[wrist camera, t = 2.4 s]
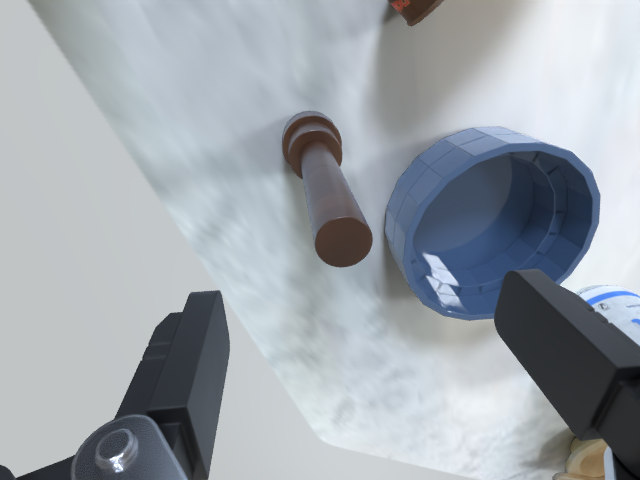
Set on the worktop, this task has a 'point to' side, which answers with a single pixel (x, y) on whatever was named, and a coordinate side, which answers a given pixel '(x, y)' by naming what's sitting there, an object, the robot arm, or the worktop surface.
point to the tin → (415, 9)
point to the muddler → (326, 189)
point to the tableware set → (585, 461)
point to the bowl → (488, 217)
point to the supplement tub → (617, 308)
